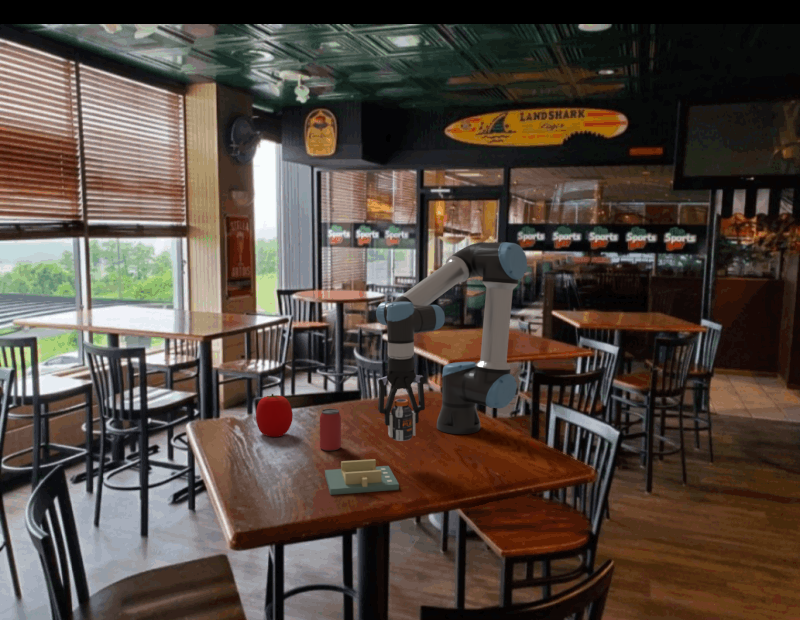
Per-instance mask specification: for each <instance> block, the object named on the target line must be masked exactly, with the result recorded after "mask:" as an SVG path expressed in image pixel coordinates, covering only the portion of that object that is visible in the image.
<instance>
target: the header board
mask: <svg viewBox="0 0 800 620" xmlns="http://www.w3.org/2000/svg"><path fill="white" fill-rule="evenodd" d="M376 463H377V460H376V459H375V458H373V459H370V458H369V459H359V460H357V459H355V460H343V461H342V460H341V461H340V467H341V468H336V469H324V476H325V481H326V483H327V487H328V492H329V494H330V496H331V495H332V496H333V495H335V496H336V495H344V494H345V495H346V494H358V493H359V494H360V493H361V494H362V493H372V492H383V491H384V492H386V491H387V492H388V491H399V490H400V484H399V481H398V479H397V478H396V476H395V475H394V473H393V471H392V469H391V468H390V466H389V465H381V466H377V464H376Z"/></svg>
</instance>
